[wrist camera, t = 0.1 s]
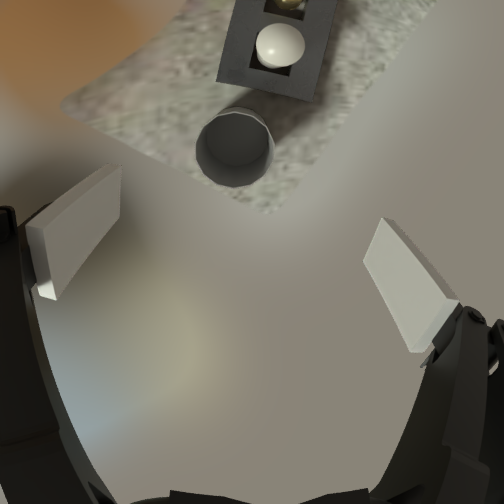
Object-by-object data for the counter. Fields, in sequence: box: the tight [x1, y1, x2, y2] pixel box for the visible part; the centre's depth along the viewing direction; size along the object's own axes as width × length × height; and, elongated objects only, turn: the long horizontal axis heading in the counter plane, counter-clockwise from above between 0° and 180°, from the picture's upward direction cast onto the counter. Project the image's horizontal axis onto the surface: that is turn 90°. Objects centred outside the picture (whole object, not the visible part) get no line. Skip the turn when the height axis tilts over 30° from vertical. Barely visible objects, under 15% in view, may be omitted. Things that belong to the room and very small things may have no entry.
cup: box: [195, 106, 275, 189], centre depth 34 cm, size 8×8×10 cm
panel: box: [216, 0, 338, 102], centre depth 27 cm, size 26×12×3 cm, turn 168°
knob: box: [256, 23, 305, 69], centre depth 26 cm, size 5×5×8 cm
